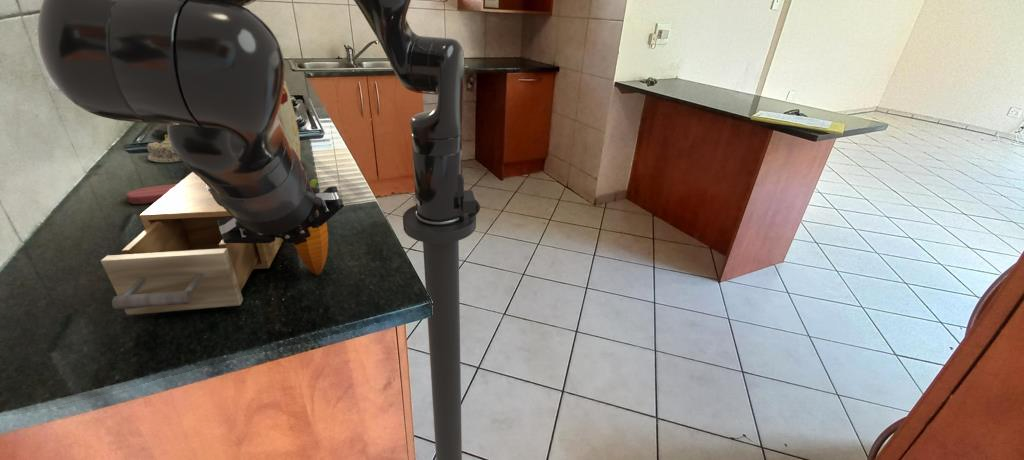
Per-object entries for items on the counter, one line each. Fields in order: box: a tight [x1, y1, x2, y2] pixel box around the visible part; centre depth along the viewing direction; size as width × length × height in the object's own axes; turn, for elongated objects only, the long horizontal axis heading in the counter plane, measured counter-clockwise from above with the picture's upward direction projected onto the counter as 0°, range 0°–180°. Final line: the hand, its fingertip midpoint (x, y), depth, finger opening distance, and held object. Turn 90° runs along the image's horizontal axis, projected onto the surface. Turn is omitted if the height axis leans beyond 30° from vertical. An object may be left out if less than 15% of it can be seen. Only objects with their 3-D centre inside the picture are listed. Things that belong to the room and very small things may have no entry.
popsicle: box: [126, 183, 178, 205], centre depth 83 cm, size 5×2×15 cm
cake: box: [146, 134, 182, 163], centre depth 101 cm, size 10×10×5 cm
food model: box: [280, 80, 302, 163], centre depth 94 cm, size 10×7×20 cm
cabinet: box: [139, 171, 284, 270], centre depth 66 cm, size 17×14×10 cm
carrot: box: [293, 178, 329, 276], centre depth 58 cm, size 5×5×15 cm
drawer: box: [100, 216, 260, 316], centre depth 55 cm, size 20×12×8 cm, turn 12°
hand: (298, 236), depth 55 cm, fingers closed
